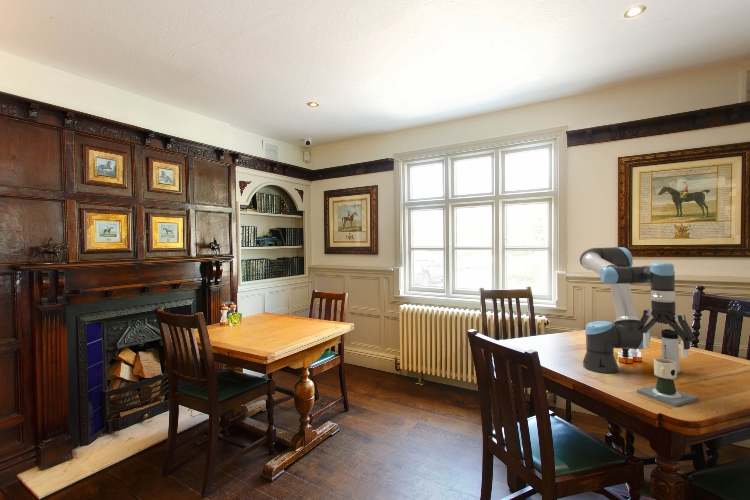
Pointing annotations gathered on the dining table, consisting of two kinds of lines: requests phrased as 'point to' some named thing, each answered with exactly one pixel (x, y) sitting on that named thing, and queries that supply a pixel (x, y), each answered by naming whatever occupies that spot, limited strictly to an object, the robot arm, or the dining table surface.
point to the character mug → (665, 375)
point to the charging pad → (668, 396)
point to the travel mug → (670, 347)
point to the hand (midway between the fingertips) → (664, 352)
